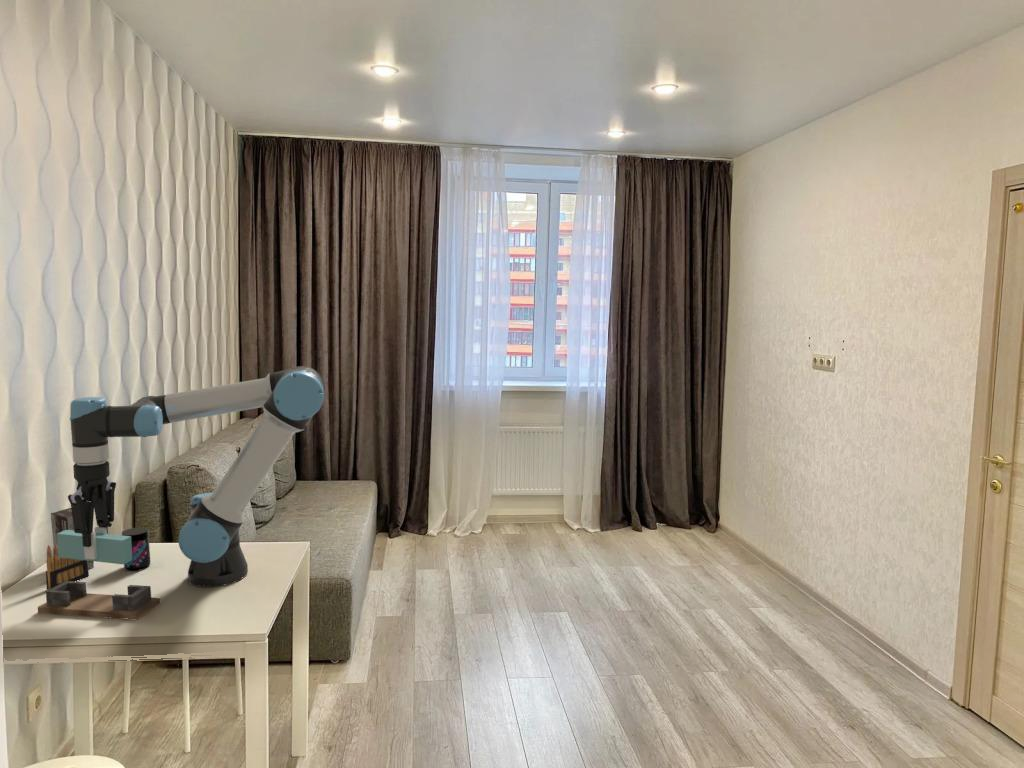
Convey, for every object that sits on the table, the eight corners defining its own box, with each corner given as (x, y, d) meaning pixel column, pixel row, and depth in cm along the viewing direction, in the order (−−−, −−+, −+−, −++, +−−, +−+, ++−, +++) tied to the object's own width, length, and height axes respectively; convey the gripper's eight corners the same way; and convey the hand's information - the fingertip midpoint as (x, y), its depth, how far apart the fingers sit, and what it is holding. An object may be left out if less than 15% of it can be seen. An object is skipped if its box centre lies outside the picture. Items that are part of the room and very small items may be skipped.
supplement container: (118, 570, 205) (115, 534, 203) (136, 561, 211) (134, 526, 210) (138, 572, 203) (136, 536, 202) (156, 563, 210) (154, 528, 208)
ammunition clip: (51, 591, 191) (47, 546, 189) (46, 590, 191) (42, 545, 190) (89, 576, 200) (85, 533, 199) (84, 575, 201) (81, 533, 200)
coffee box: (95, 567, 207) (91, 511, 205) (71, 574, 201) (66, 517, 199) (78, 560, 212) (73, 506, 210) (54, 568, 206) (49, 512, 204)
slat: (132, 560, 180) (131, 536, 179) (123, 564, 177) (122, 540, 177) (67, 553, 183) (66, 529, 183) (58, 557, 181) (57, 533, 180)
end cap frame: (160, 603, 183) (159, 584, 183) (137, 619, 174) (135, 599, 174) (65, 597, 187) (63, 578, 186) (38, 613, 178) (36, 593, 177)
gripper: (101, 453, 186) (106, 543, 189) (51, 468, 170) (57, 566, 173) (128, 455, 184) (132, 545, 187) (79, 470, 169) (85, 569, 172)
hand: (96, 555), depth 180 cm, fingers closed on slat, 3 cm apart
